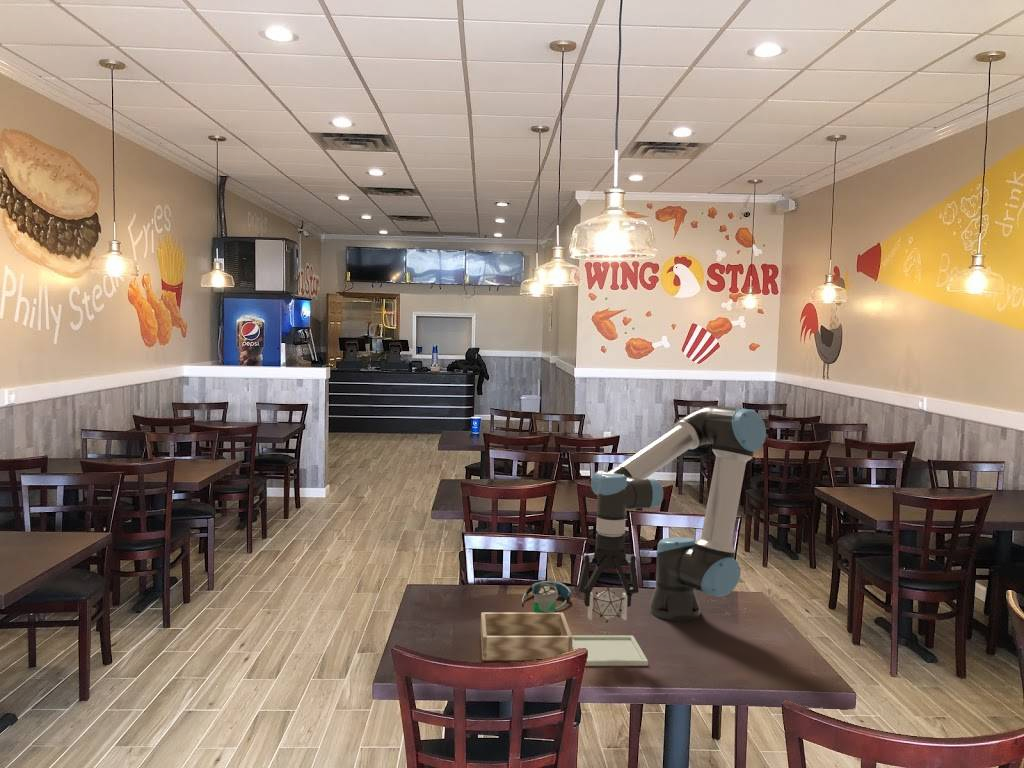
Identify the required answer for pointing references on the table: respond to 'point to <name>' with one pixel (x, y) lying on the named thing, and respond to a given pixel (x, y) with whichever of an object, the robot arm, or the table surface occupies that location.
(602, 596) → the game die
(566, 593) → the sunglasses
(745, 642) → the table surface
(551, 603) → the food container
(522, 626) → the birch crate
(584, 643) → the tray
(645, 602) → the table surface
